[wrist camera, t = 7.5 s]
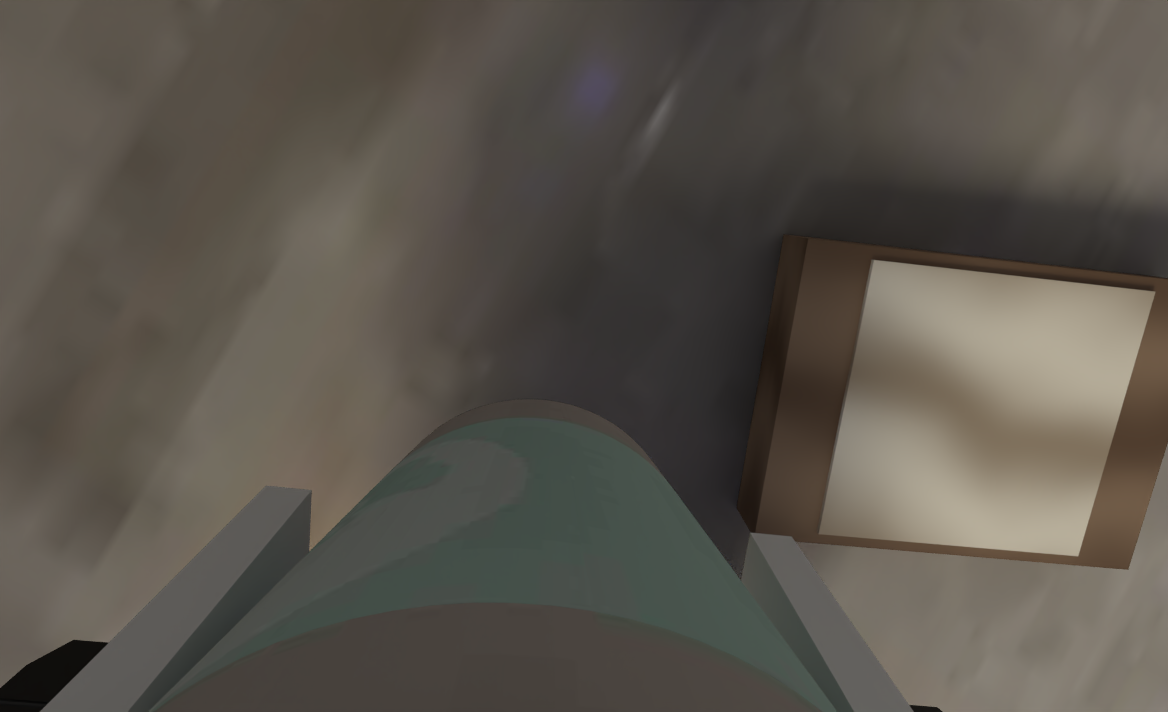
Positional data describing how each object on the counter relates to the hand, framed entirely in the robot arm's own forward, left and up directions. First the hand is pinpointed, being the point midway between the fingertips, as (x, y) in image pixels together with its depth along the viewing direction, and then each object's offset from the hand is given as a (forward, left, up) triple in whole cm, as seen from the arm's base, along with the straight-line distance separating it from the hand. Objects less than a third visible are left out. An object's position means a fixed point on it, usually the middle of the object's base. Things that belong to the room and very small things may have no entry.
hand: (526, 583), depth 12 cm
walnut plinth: (0, +17, -17) cm, 24 cm away
